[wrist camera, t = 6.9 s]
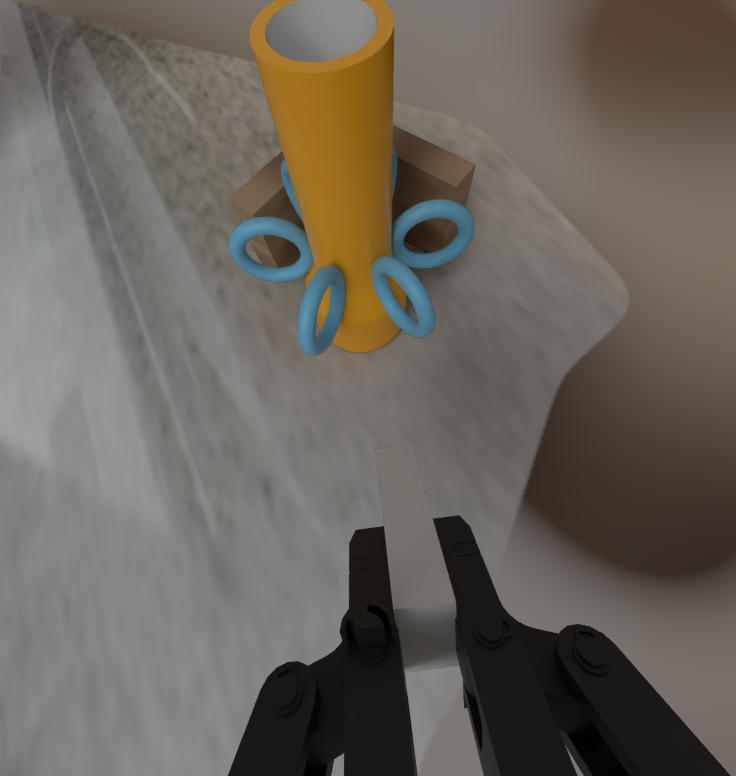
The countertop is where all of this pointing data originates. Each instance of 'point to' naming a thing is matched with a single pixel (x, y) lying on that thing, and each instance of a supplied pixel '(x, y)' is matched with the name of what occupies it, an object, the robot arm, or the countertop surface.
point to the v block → (413, 185)
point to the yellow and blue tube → (342, 176)
